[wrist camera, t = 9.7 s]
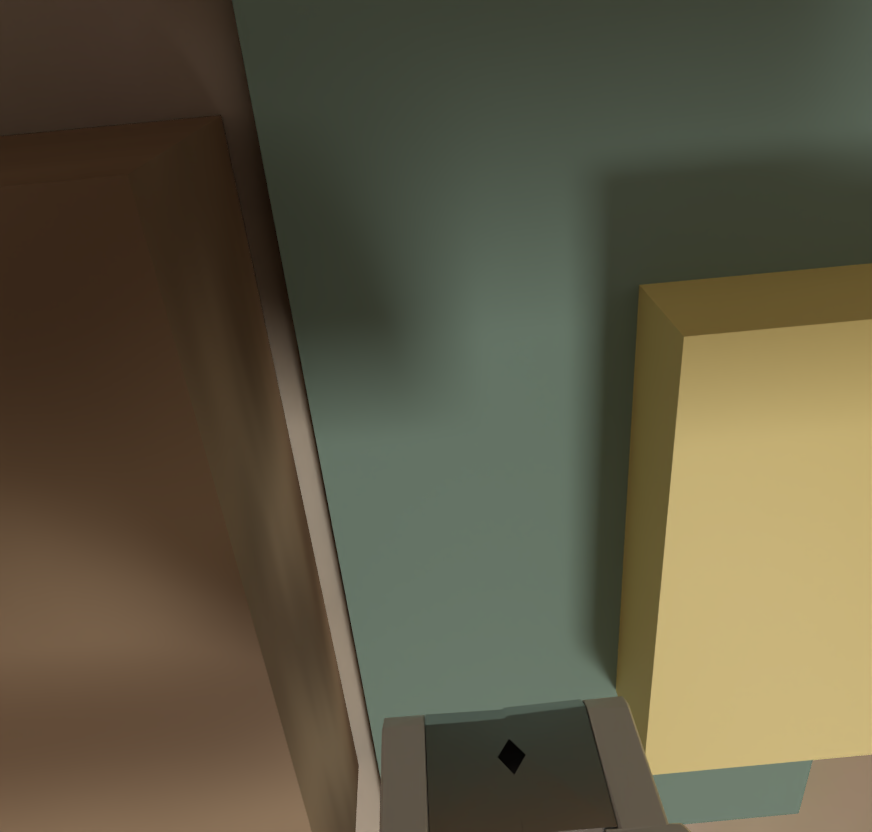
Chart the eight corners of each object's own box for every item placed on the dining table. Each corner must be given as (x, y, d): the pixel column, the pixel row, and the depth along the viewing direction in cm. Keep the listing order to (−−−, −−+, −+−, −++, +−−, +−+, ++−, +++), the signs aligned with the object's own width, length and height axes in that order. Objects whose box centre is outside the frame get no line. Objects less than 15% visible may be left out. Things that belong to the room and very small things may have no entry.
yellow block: (1148, 293, 9) (1031, 247, 11) (684, 336, 9) (639, 284, 11) (959, 746, 14) (896, 663, 16) (643, 776, 14) (615, 689, 16)
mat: (205, -166, 9) (199, -170, 8) (1060, -246, 9) (1082, -255, 8) (394, 839, 18) (394, 851, 18) (792, 801, 18) (798, 813, 18)
